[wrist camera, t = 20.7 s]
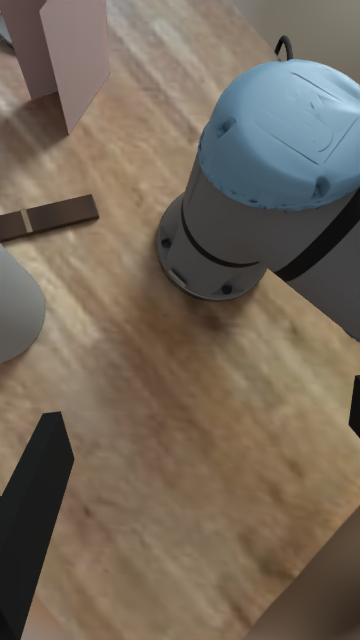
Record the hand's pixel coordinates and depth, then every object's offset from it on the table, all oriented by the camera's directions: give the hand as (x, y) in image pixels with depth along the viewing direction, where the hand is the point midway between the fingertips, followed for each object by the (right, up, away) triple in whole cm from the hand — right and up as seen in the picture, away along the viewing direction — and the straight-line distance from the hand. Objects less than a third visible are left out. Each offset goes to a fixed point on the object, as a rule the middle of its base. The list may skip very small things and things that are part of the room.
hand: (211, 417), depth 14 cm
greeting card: (-15, +34, +29) cm, 47 cm away
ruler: (-23, +15, +25) cm, 37 cm away
